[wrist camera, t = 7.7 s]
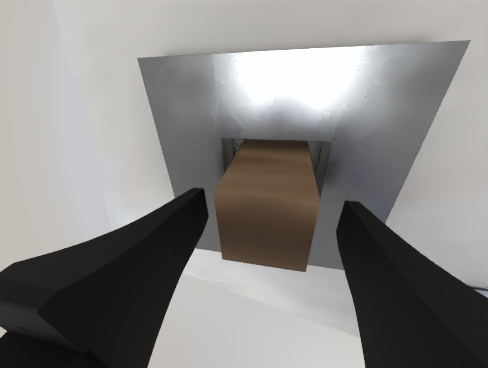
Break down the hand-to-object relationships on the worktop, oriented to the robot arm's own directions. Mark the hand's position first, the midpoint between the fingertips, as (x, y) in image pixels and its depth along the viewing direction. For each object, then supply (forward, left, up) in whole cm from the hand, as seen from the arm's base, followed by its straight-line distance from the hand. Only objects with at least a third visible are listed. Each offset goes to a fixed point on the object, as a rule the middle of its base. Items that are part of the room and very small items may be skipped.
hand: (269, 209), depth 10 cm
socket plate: (0, 0, -5) cm, 5 cm away
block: (0, 0, -5) cm, 5 cm away
